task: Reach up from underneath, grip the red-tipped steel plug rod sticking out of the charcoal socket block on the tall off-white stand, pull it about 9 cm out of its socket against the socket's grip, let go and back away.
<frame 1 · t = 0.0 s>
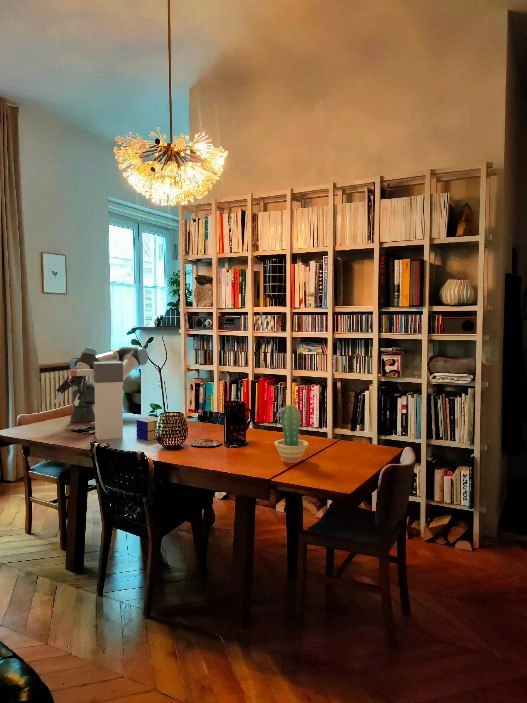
hand: (65, 404, 301), 15 cm above the table, tool tilted 35°, fingers open, 13 cm apart
potted cactus: (291, 460, 243), on the table
plug rod: (95, 372, 285), point 35 cm above the table, slide at 0.0 cm
socket stand: (108, 436, 289), on the table
puzzle cube: (149, 438, 286), on the table
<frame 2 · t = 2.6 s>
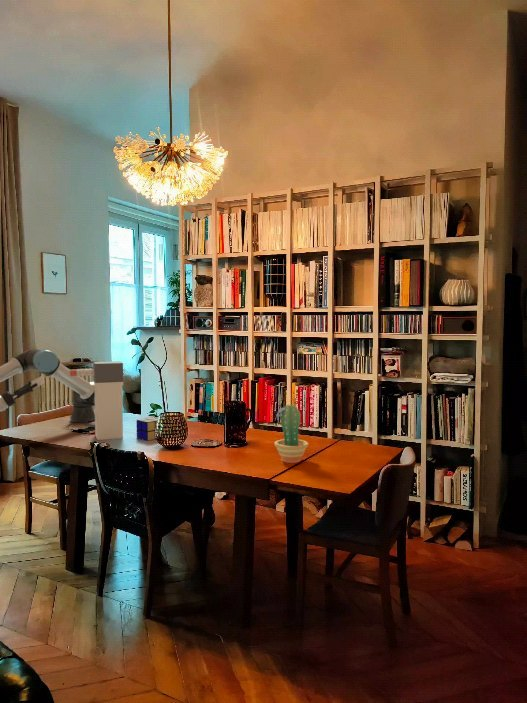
hand: (43, 379, 281), 32 cm above the table, tool pointing upward, fingers open, 13 cm apart
nothing on the table moved.
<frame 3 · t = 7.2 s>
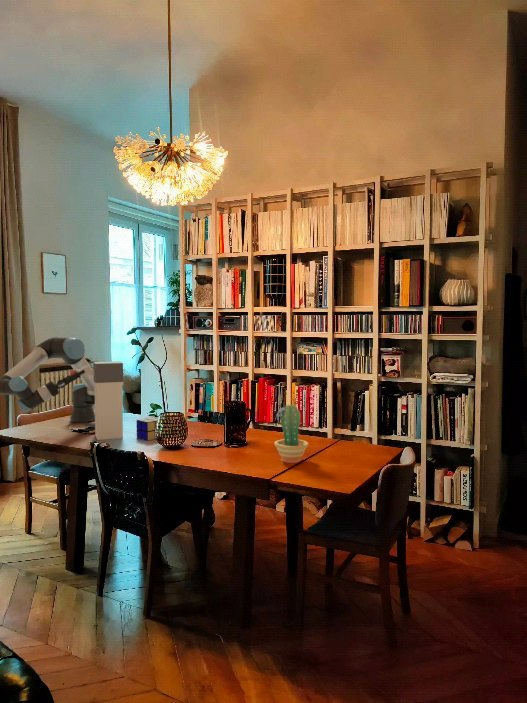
hand: (89, 367, 283), 38 cm above the table, tool pointing upward, fingers closed on plug rod, 3 cm apart
plug rod: (95, 372, 285), point 35 cm above the table, slide at 0.0 cm, touching gripper
everything else where it was.
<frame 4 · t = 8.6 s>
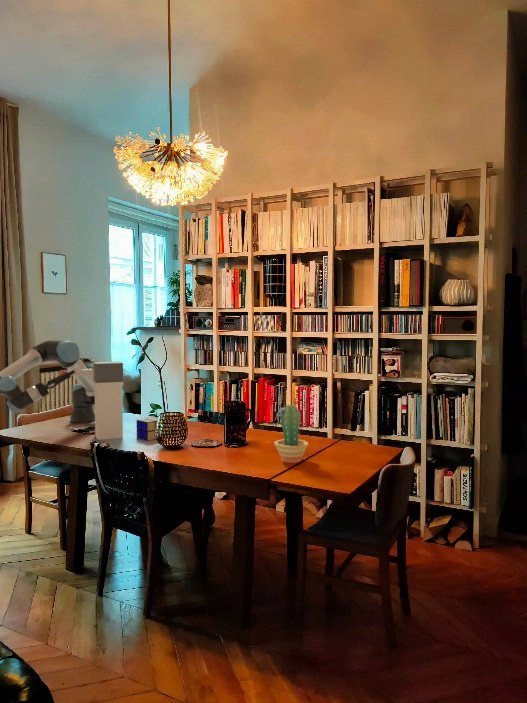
hand: (80, 367, 282), 38 cm above the table, tool pointing upward, fingers closed on plug rod, 3 cm apart
plug rod: (85, 372, 283), point 35 cm above the table, slide at 4.9 cm, touching gripper
everything else where it was.
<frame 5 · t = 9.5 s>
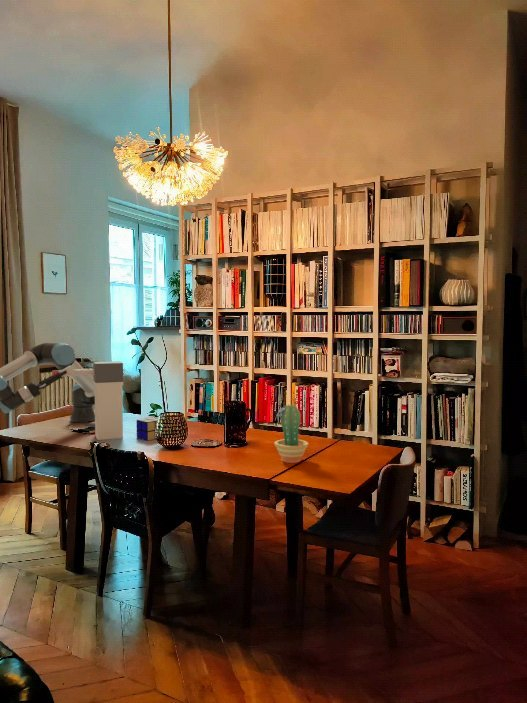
hand: (72, 367, 280), 38 cm above the table, tool pointing upward, fingers closed on plug rod, 3 cm apart
plug rod: (77, 372, 281), point 35 cm above the table, slide at 8.8 cm, touching gripper
everything else where it was.
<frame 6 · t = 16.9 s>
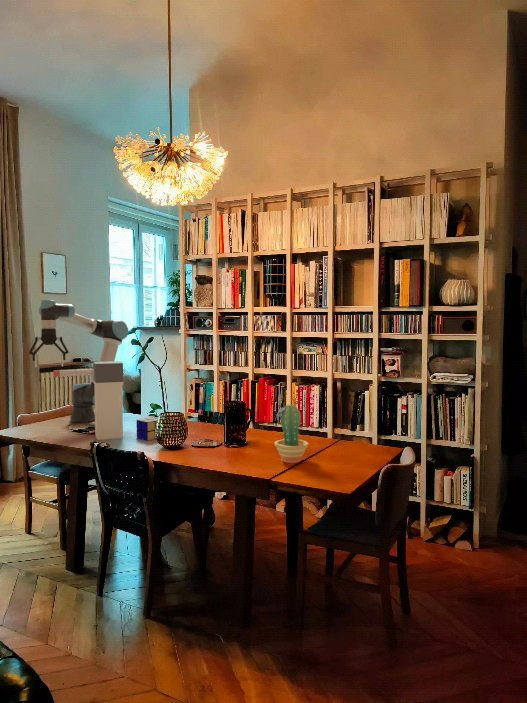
hand: (49, 366, 296), 37 cm above the table, tool pointing down, fingers open, 13 cm apart
plug rod: (79, 372, 281), point 35 cm above the table, slide at 8.2 cm
everything else where it was.
at the end: plug rod slide at 8.2 cm; the gripper is holding nothing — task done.
